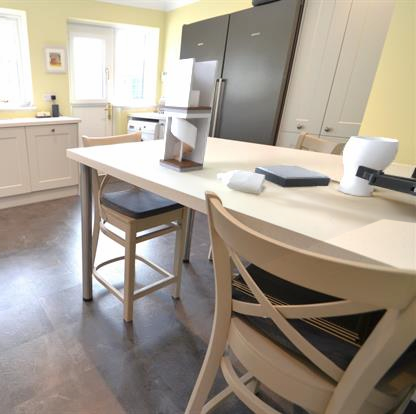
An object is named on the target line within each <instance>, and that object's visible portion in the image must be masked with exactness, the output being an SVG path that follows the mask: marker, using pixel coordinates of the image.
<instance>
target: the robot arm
mask: <svg viewBox="0 0 416 414" xmlns="http://www.w3.org/2000/svg"><path fill="white" fill-rule="evenodd" d="M382 171H383V170H379V171H378V170H375V169H372V168H368V167H365V166H359V167H358V170H357V172H356V175H355V176H357V177H359V178H362V179H365V180H368V181H369V182H368V185H373V186H374V187H377V188H382V189H385V190H389V191H395V192H397V193H398V192H399V193H403V194H406V195H409V196H414V197H416V167H414V169H413V171H412V174H411V176H410V177H405V176H400V175H394V174H389V173H385V172H384V171H383V172H382Z"/></svg>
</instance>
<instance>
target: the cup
mask: <svg viewBox="0 0 416 414" xmlns="http://www.w3.org/2000/svg"><path fill="white" fill-rule="evenodd" d="M399 144H400V141H399V140H398V139H394V138H387V137H379V136H366V135H365V136H364V135H352V136H351V137H350V138H349V140H348V141H347V143H346V144H345V146H344V148H343V153H342V162H343V165H344V174H343V178H342V180H341V181H340V183H339V184H338V187H337V191H339V192H340V193H343V194H346V195H352V196H356V197H372V196H373V194H374V189H375V186H373V185H368V182H369V181H368V180H365V179H362V178H359V177H357V176H355V175H356V172H357V170H358V167H359V166H365V167H368V168H372V169H375V170H378V171H379V170H383V171H382V172H384V171H385V170H387V169H388V168H389V167H390V166H391V164H392V163H393V162H394V160H395V159H396V157H397V154H398V152H399Z"/></svg>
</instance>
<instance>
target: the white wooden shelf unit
mask: <svg viewBox="0 0 416 414" xmlns="http://www.w3.org/2000/svg"><path fill="white" fill-rule="evenodd" d="M219 62H220V60H217V59H216V60H207V61H196V58H195V57H192V58H184V59H176V60H169V61H168V64H167V75H166V76H167V77H166V88H165V99H164V110H163V116H164V117H165V127H164V137H163V138H164V139H163V149H162V158H161V159H159V164H158V165H159V166H161V167H163V168H167V169H170V170H172V171H175V172H178V173H183V172H191V171H198V170H203V169H204V161H205V154H206V149H207V141H208V135H209V129H210V122H211V116H212V110H213V109H212V108H213V103H214V95H215V89H216V82H217V77H218V76H217V75H218V69H219Z"/></svg>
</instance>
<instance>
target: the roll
mask: <svg viewBox="0 0 416 414" xmlns="http://www.w3.org/2000/svg"><path fill="white" fill-rule="evenodd" d="M216 177H217V180H219V181H220V182H221V183H223V185H225V187H227V188H228V189H229V190H233V191H239V192H245V193H248V194H254V195H259V196H260V195H261V193H262V191H263V188H264V183H265V180H266V179H265V175H262V174H257V173H255V172H252V171H246V170H240V169H235V170H231V171H228V172H225V173H223V172H221V173H217V175H216Z"/></svg>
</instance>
